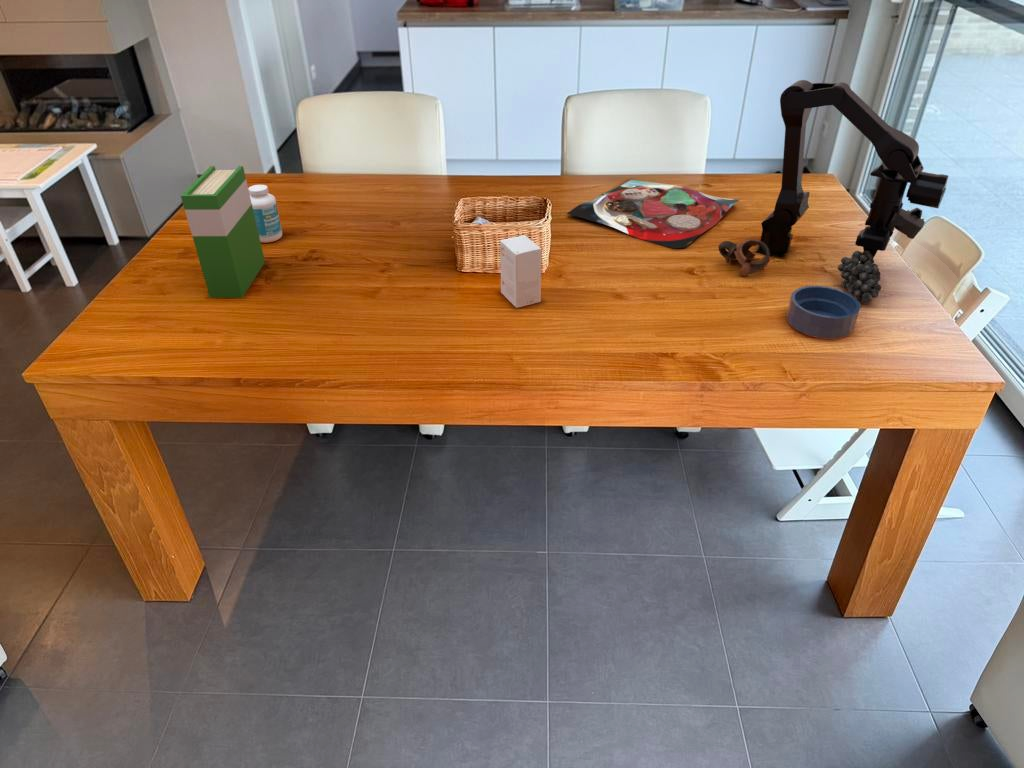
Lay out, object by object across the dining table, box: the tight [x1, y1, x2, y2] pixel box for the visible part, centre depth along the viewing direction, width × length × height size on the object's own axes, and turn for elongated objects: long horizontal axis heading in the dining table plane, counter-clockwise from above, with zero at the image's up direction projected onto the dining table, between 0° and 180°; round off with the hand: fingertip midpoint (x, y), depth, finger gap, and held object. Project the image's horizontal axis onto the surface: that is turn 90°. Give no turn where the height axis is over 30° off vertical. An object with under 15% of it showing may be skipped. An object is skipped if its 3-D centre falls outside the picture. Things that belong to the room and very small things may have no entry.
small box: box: [499, 234, 543, 309], centre depth 161 cm, size 8×6×13 cm
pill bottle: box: [248, 184, 283, 244], centre depth 188 cm, size 8×7×14 cm
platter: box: [565, 179, 740, 250], centre depth 202 cm, size 35×35×2 cm
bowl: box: [786, 285, 862, 340], centre depth 153 cm, size 13×13×6 cm
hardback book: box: [180, 165, 266, 299], centre depth 166 cm, size 18×7×24 cm, turn 179°
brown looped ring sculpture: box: [717, 238, 771, 277], centre depth 174 cm, size 12×10×8 cm
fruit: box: [837, 250, 882, 305], centre depth 163 cm, size 9×8×15 cm
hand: (868, 262), depth 171 cm, fingers closed
